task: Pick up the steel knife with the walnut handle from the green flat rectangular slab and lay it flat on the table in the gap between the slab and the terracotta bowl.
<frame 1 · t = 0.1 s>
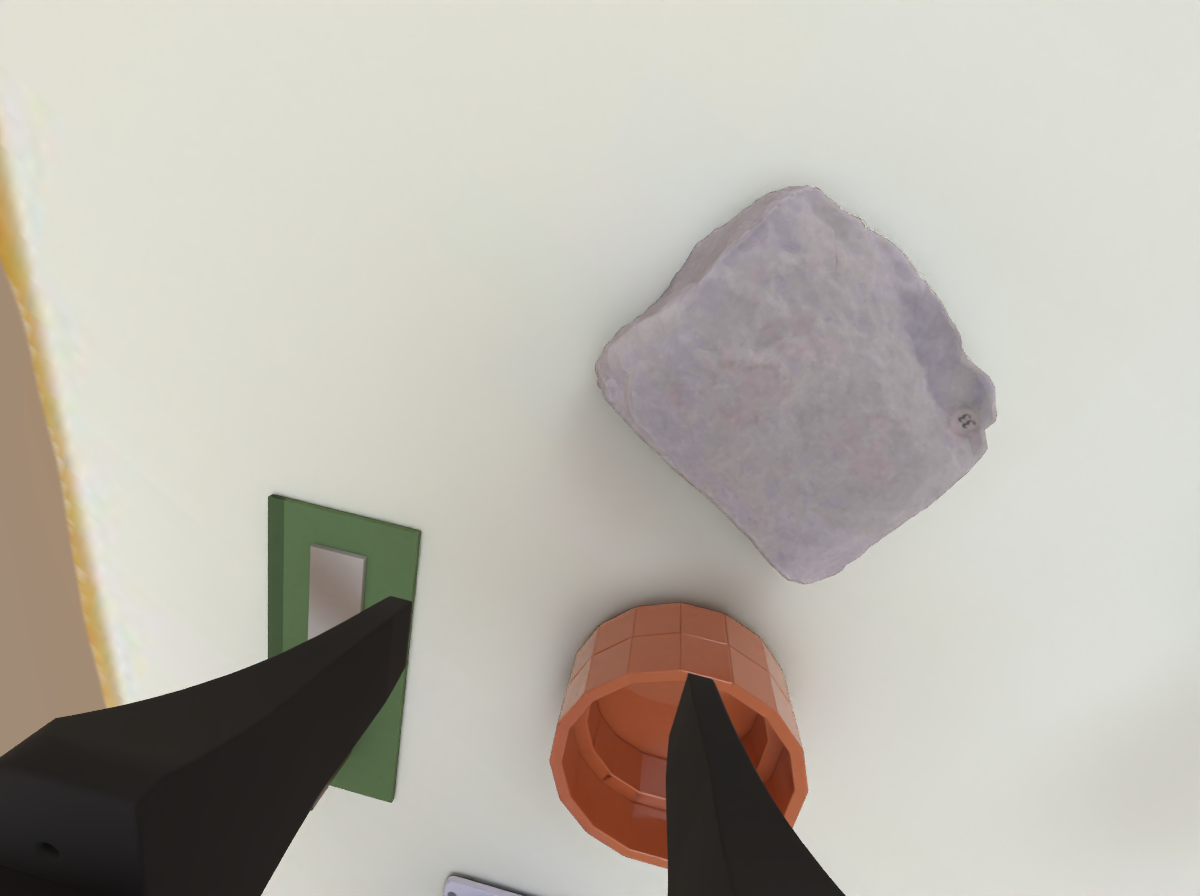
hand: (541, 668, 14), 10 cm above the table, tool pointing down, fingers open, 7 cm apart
stone block: (790, 376, 21), on the table
bowl: (675, 687, 26), on the table
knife: (335, 654, 27), resting on green flat rectangular slab
green flat rectangular slab: (338, 659, 28), on the table
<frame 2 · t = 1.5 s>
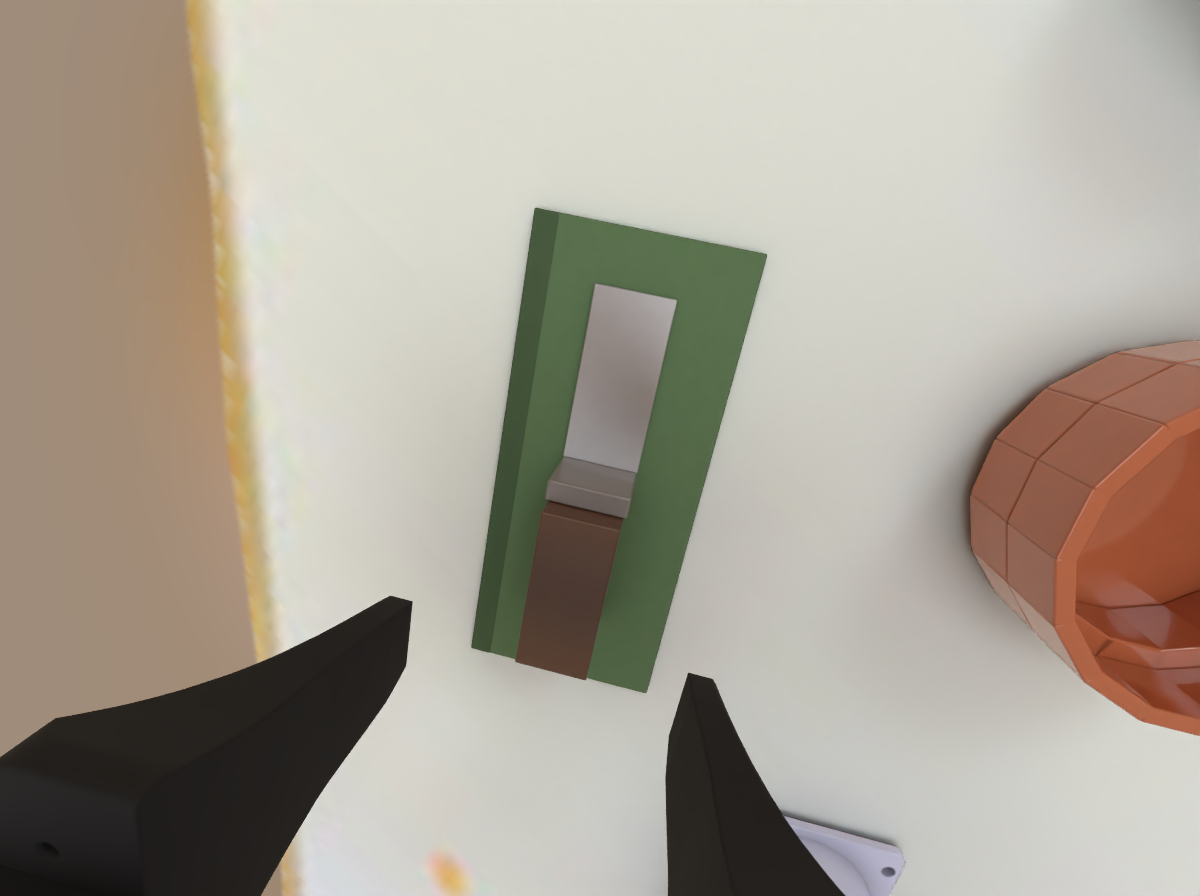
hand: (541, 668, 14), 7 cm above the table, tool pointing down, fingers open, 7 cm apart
bowl: (1129, 495, 17), on the table
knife: (600, 467, 19), resting on green flat rectangular slab
green flat rectangular slab: (598, 477, 20), on the table
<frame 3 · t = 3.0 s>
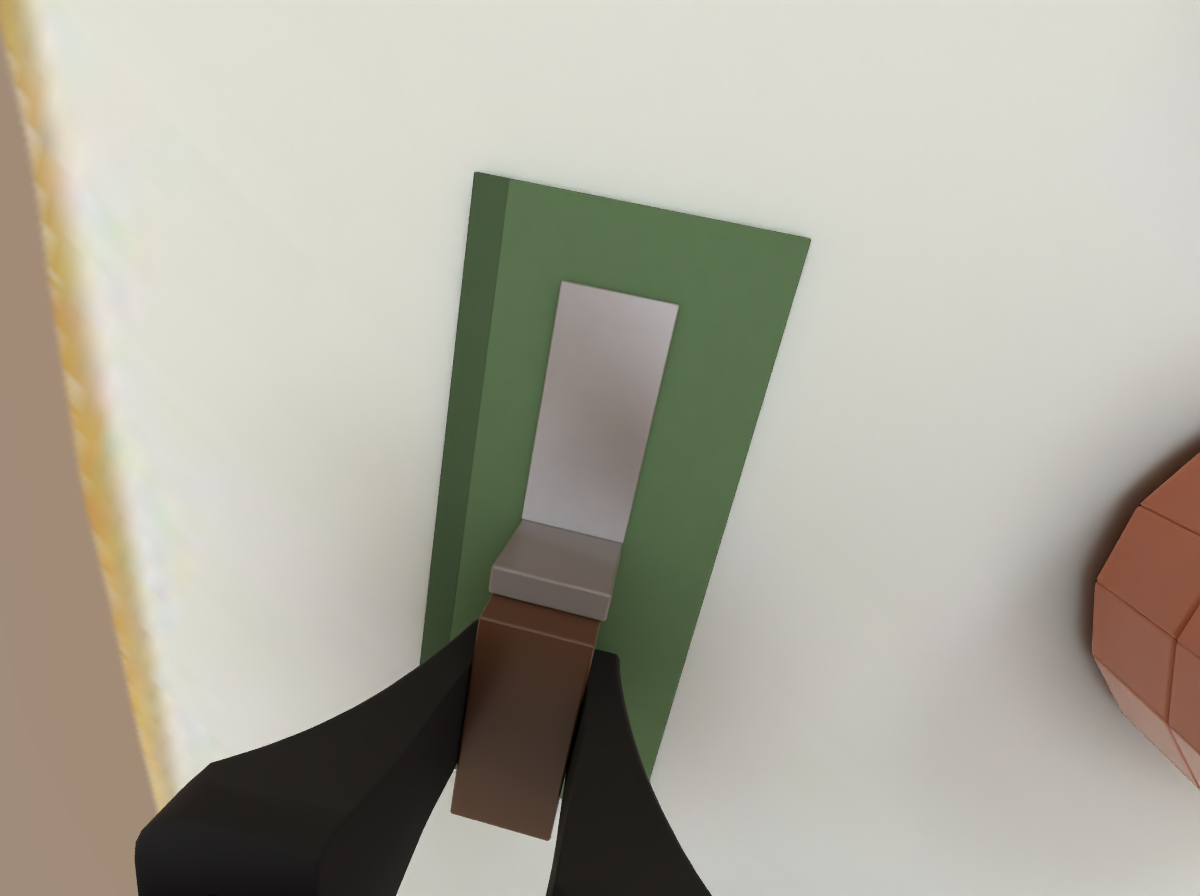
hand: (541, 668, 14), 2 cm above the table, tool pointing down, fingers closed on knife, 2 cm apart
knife: (572, 533, 14), resting on green flat rectangular slab, touching gripper
green flat rectangular slab: (571, 545, 14), on the table
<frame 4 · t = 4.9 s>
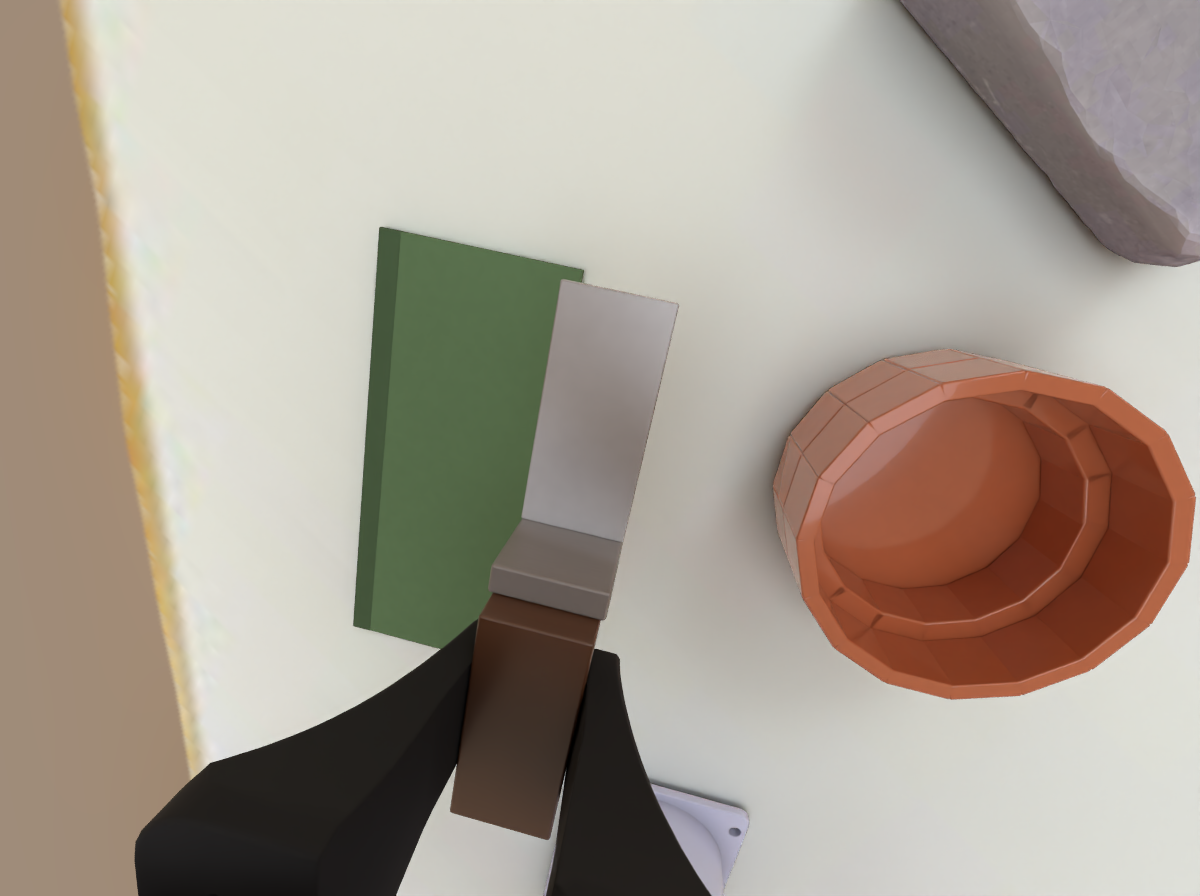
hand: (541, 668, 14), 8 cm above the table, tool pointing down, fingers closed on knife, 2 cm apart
bowl: (913, 486, 19), on the table
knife: (572, 532, 14), point 7 cm above the table, touching gripper
green flat rectangular slab: (455, 469, 22), on the table
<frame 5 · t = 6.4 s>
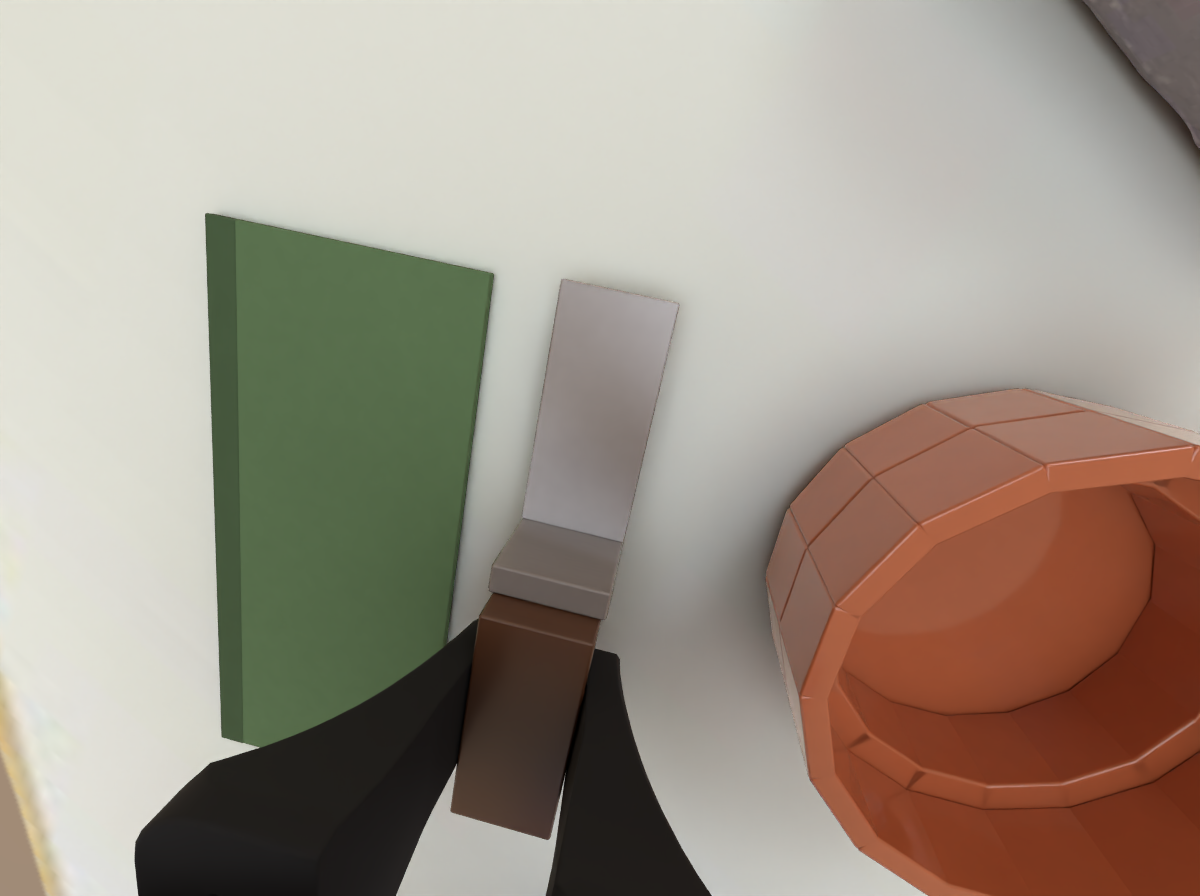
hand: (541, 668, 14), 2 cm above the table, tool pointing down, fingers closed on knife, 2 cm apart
bowl: (964, 577, 14), on the table
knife: (572, 532, 14), point 1 cm above the table, touching gripper
green flat rectangular slab: (337, 542, 16), on the table
when the fingers open (1 cm above the table, at t = 6.9 s): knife stays where it is, on the table.
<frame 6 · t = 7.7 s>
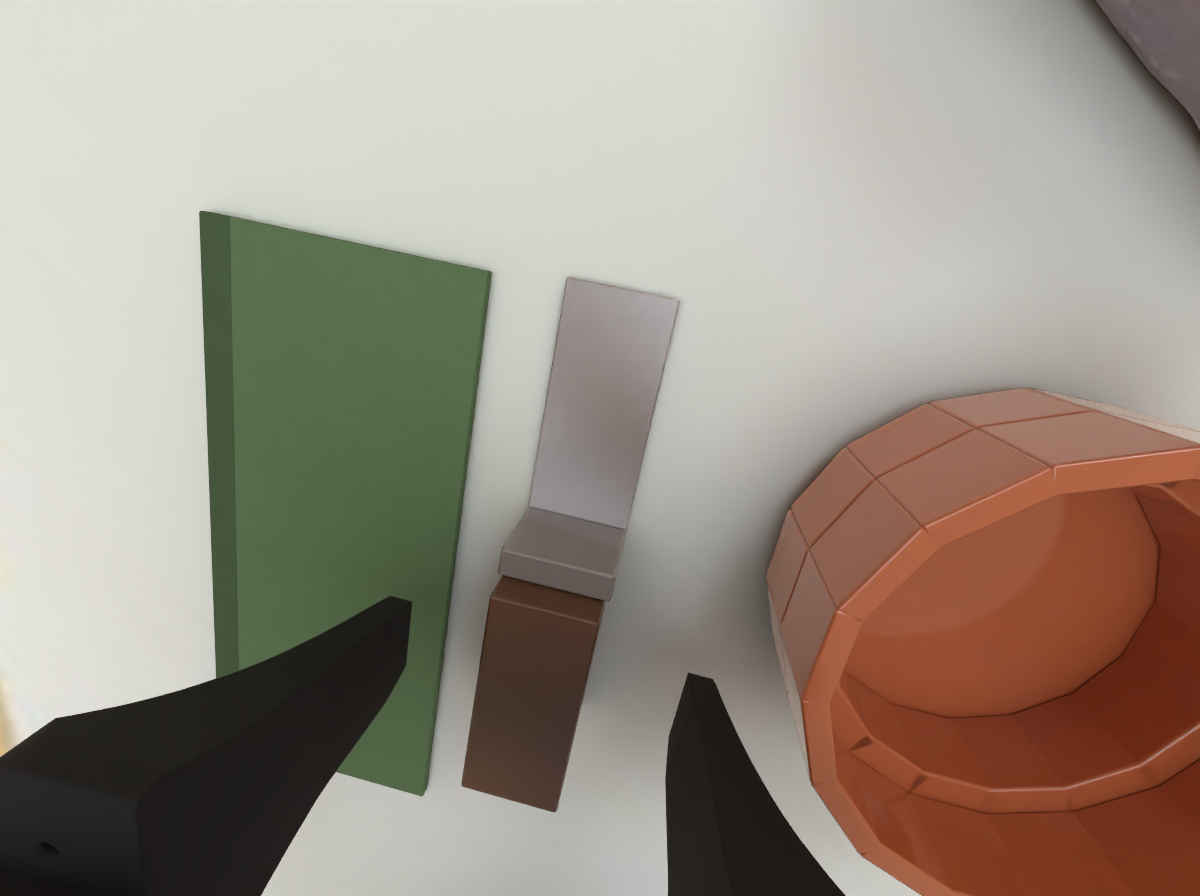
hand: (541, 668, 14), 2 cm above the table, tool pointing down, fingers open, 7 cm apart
bowl: (966, 578, 14), on the table
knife: (577, 520, 15), on the table
green flat rectangular slab: (334, 543, 16), on the table
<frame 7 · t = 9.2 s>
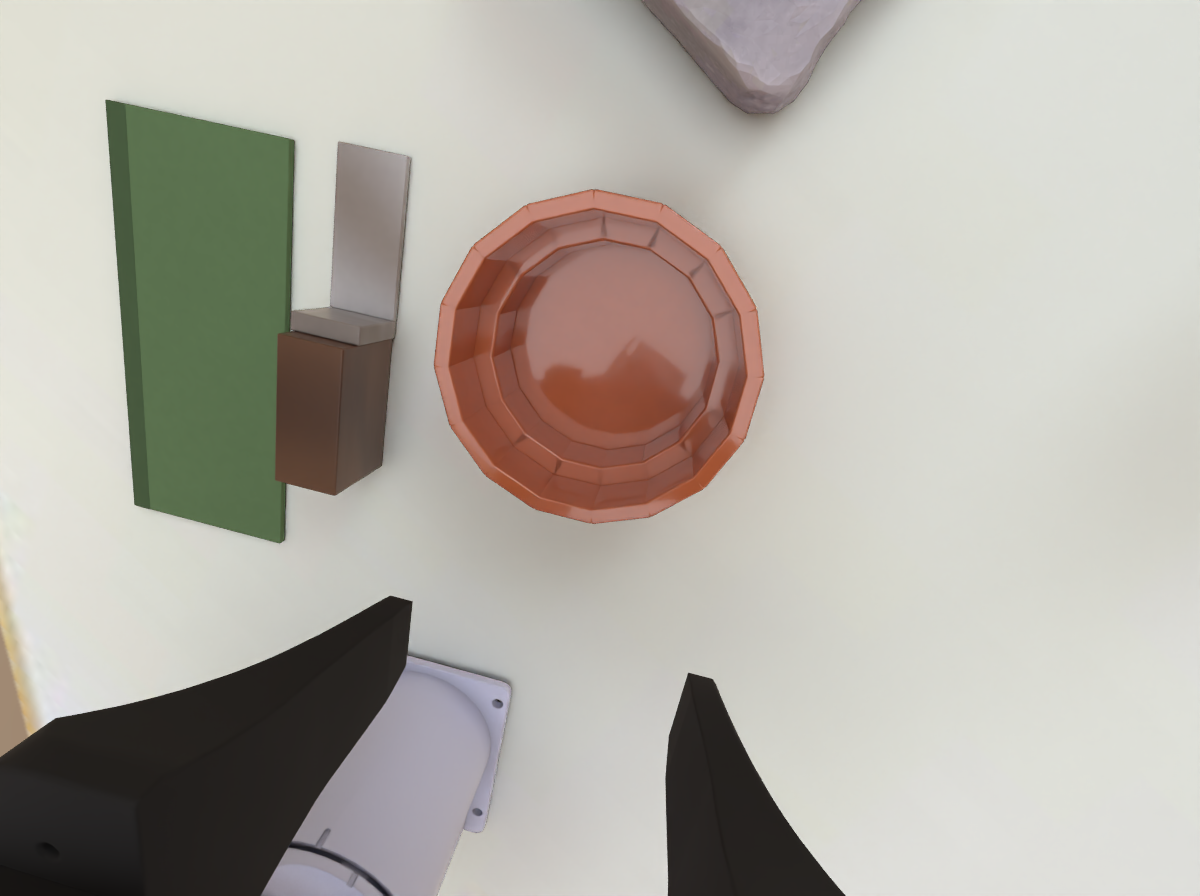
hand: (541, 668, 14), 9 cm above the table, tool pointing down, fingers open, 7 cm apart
bowl: (611, 350, 21), on the table
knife: (365, 318, 22), on the table
green flat rectangular slab: (207, 344, 23), on the table
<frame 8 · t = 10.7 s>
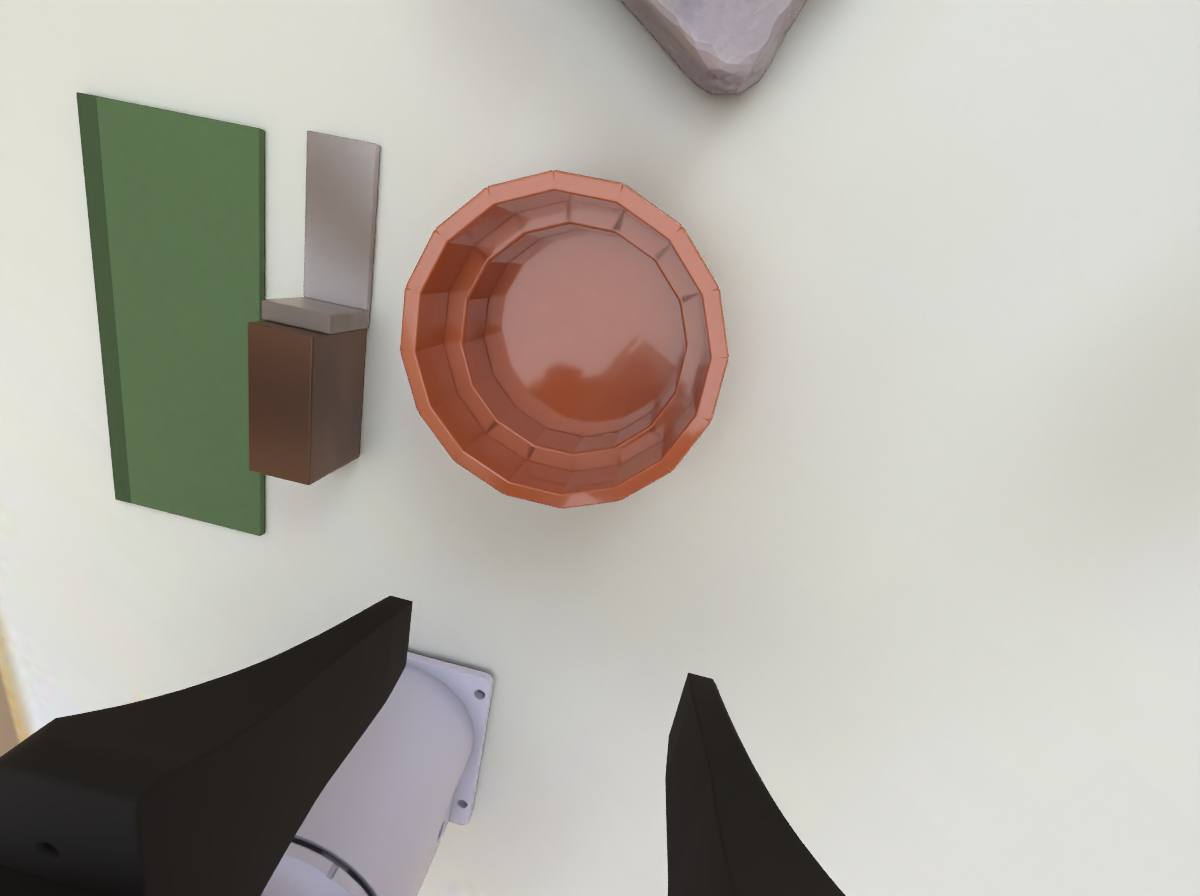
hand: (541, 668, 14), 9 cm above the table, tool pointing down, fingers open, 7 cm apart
bowl: (584, 337, 21), on the table
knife: (339, 308, 22), on the table
green flat rectangular slab: (184, 336, 23), on the table
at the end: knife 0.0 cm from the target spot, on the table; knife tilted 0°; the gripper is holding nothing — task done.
